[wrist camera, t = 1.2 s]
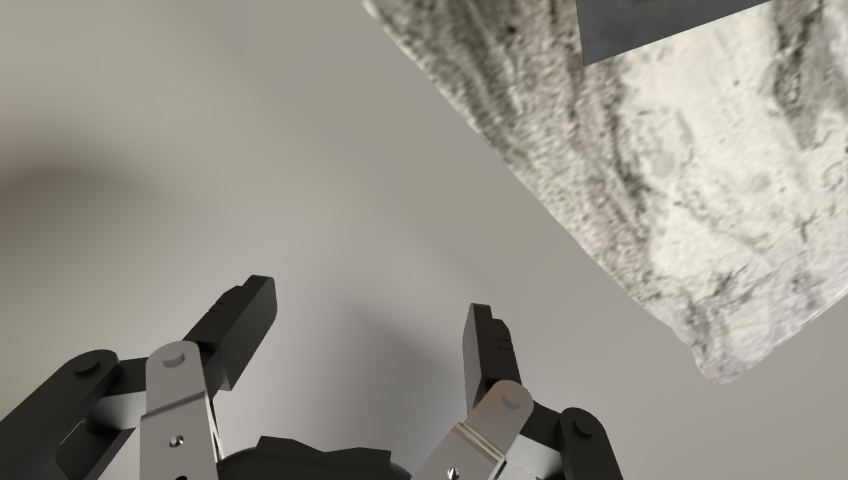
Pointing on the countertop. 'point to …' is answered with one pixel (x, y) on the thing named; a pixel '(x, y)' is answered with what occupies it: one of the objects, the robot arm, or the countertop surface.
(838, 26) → the countertop surface
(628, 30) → the base plate
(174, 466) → the robot arm
